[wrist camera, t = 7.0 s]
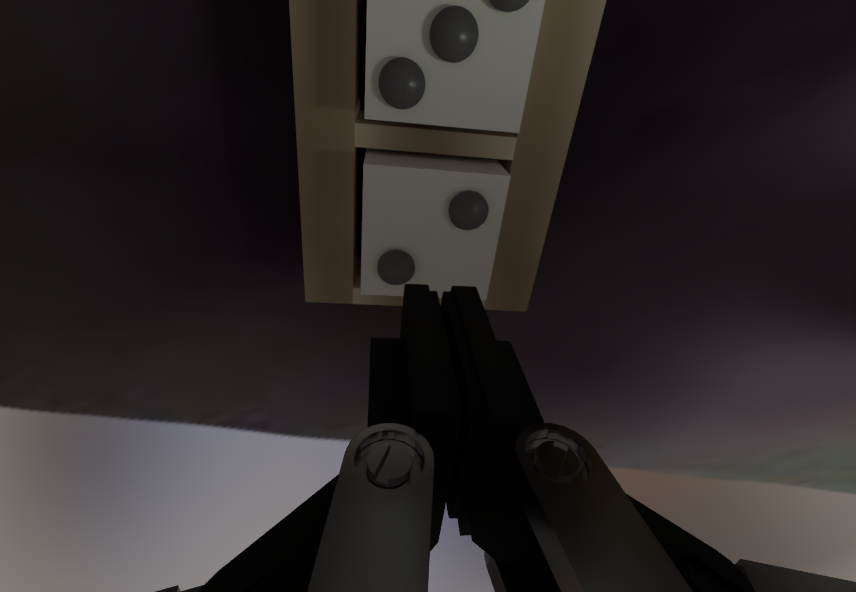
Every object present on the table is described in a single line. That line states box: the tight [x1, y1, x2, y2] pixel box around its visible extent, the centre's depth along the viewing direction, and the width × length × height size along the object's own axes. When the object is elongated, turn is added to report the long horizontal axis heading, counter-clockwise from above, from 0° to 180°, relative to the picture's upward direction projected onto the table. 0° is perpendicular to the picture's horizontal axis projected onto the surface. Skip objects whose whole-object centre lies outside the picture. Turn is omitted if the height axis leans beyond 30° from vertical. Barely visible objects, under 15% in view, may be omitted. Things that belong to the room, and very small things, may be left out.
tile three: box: [364, 0, 545, 133], centre depth 14 cm, size 5×5×3 cm
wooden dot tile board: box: [289, 0, 606, 312], centre depth 15 cm, size 10×21×3 cm, turn 174°
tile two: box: [361, 148, 511, 300], centre depth 17 cm, size 5×5×3 cm
